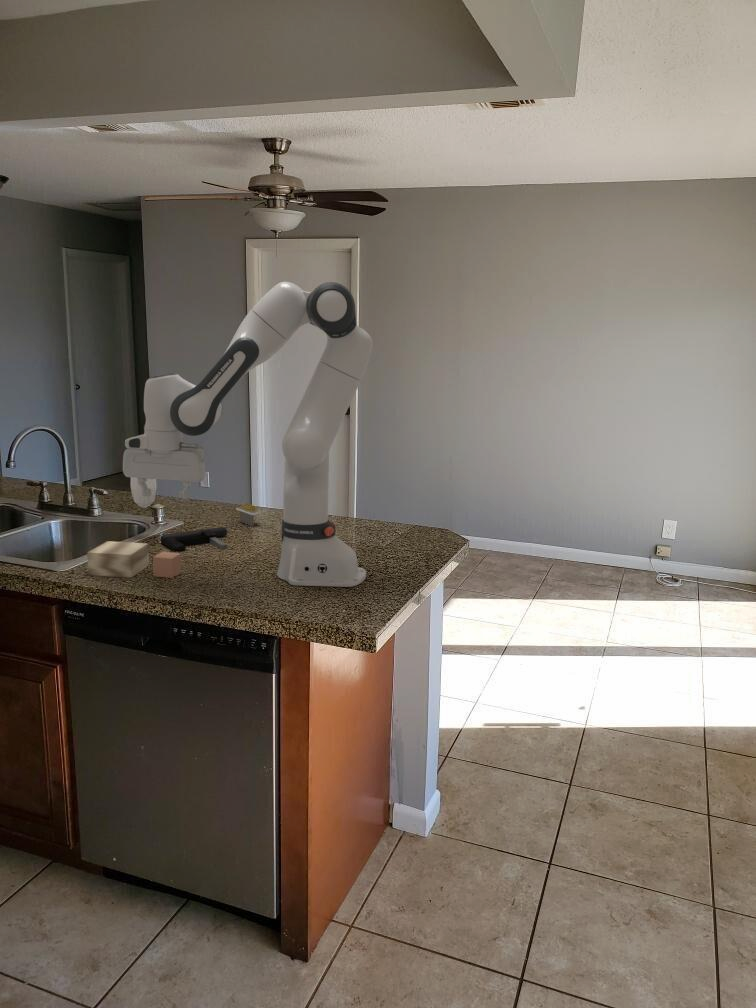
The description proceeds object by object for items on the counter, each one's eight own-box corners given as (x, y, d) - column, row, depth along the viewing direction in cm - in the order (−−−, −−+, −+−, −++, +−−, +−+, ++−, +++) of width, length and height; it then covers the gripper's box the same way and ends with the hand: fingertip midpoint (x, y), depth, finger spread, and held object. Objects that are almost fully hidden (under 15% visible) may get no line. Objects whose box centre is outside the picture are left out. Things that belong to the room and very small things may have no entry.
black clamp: (246, 539, 223) (221, 524, 235) (178, 548, 211) (157, 532, 224) (245, 550, 224) (221, 535, 236) (178, 560, 212) (157, 543, 225)
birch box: (149, 566, 203) (148, 543, 201) (131, 578, 192) (130, 554, 191) (108, 563, 204) (107, 541, 203) (88, 575, 193) (87, 552, 192)
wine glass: (150, 541, 225) (148, 470, 221) (127, 539, 226) (124, 468, 222) (162, 535, 232) (160, 466, 228) (140, 533, 233) (137, 465, 229)
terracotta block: (181, 572, 197) (180, 553, 196) (172, 578, 193) (171, 558, 192) (162, 570, 198) (162, 551, 197) (153, 576, 194) (152, 557, 192)
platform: (250, 517, 260) (250, 498, 259) (280, 528, 247) (280, 507, 246) (218, 522, 253) (218, 502, 251) (247, 533, 239) (247, 512, 238)
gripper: (209, 442, 190) (209, 498, 193) (131, 437, 193) (133, 492, 196) (198, 445, 184) (199, 503, 186) (118, 440, 187) (120, 496, 190)
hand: (164, 497), depth 191 cm, fingers open, 8 cm apart
